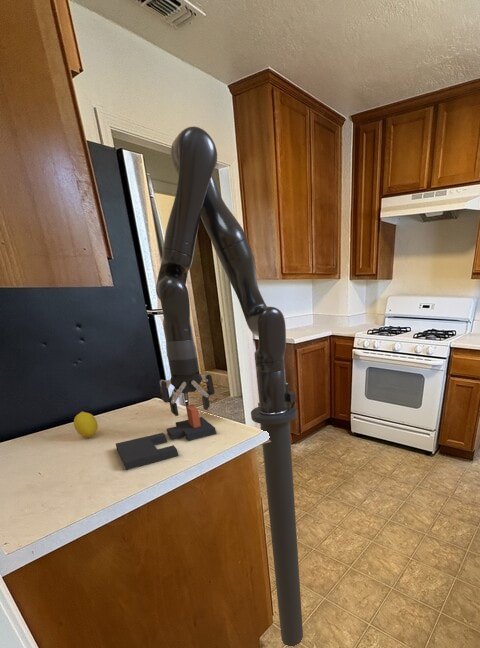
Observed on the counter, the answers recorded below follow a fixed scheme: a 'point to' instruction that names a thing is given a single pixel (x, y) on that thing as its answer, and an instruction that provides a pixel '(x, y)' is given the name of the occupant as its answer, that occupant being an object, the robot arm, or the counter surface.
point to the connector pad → (191, 426)
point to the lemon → (85, 424)
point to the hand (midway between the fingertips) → (191, 412)
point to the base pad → (144, 451)
